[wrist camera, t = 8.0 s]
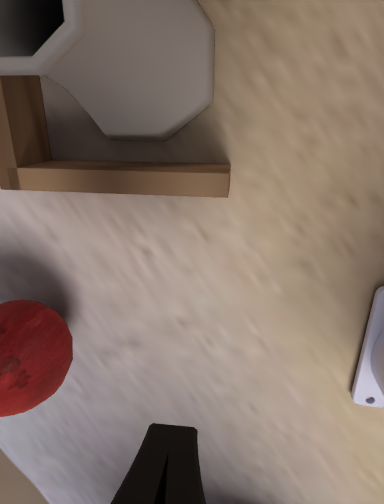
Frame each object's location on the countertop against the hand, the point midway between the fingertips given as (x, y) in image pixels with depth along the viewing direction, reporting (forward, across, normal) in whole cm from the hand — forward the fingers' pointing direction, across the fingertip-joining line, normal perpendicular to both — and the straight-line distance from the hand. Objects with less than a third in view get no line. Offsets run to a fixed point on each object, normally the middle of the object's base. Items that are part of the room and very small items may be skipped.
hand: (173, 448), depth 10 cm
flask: (+11, +3, -11) cm, 16 cm away
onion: (+11, +9, +3) cm, 15 cm away
